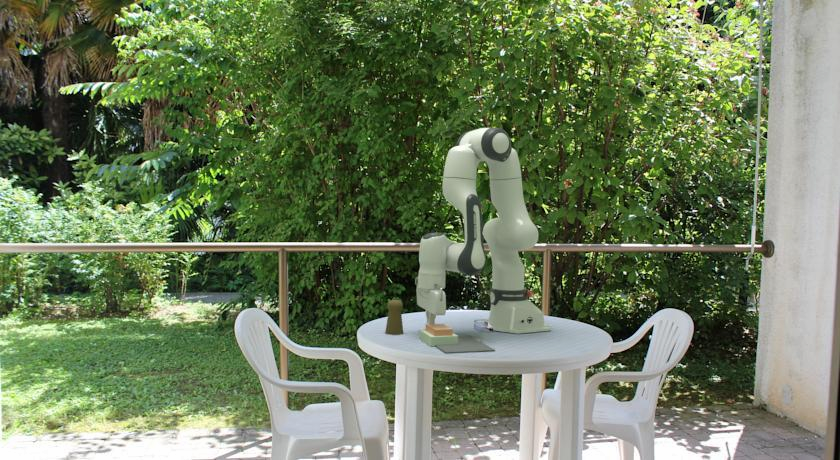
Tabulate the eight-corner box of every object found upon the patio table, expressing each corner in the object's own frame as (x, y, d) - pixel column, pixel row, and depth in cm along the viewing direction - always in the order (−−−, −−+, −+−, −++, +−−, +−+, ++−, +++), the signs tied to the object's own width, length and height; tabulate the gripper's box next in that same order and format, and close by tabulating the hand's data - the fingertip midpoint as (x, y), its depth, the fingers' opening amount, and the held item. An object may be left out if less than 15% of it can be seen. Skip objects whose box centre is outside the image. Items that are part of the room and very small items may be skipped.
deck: (445, 337, 235) (445, 328, 235) (457, 345, 224) (458, 335, 223) (418, 338, 232) (419, 329, 232) (430, 346, 221) (430, 337, 221)
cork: (399, 335, 236) (400, 302, 236) (382, 333, 238) (383, 300, 238) (405, 332, 242) (406, 299, 241) (389, 330, 244) (390, 298, 243)
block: (443, 329, 232) (443, 323, 232) (452, 335, 224) (452, 329, 224) (425, 330, 231) (425, 324, 230) (434, 336, 222) (434, 329, 222)
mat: (469, 336, 237) (469, 335, 237) (495, 351, 217) (495, 349, 217) (423, 338, 232) (423, 337, 232) (445, 353, 212) (445, 352, 212)
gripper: (451, 286, 225) (450, 330, 226) (431, 278, 245) (430, 318, 245) (432, 287, 223) (431, 331, 224) (413, 278, 243) (412, 318, 244)
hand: (430, 324), depth 235 cm, fingers closed
